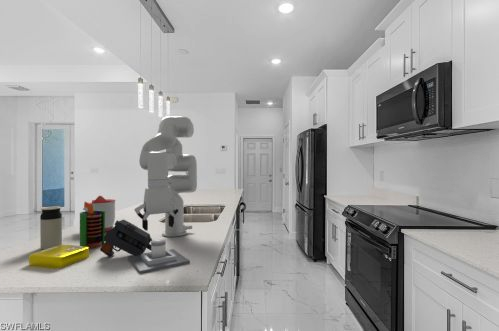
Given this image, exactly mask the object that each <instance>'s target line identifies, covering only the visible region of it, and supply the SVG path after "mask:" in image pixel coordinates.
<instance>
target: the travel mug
mask: <svg viewBox="0 0 499 331" xmlns="http://www.w3.org/2000/svg"><path fill="white" fill-rule="evenodd" d="M61 209H62V207H61V206H57V205H56V206H45V207H41V208H40V210H41V214H40V218H39V219H40V220H39V221H40V222H39V223H40V229H39V230H40V250H46V249H48V248H52V247H55V246H59V245H63V224H62V223H63V215H62V212H61Z"/></svg>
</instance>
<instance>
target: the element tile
mask: <svg viewBox="0 0 499 331" xmlns="http://www.w3.org/2000/svg"><path fill="white" fill-rule="evenodd" d="M89 257H90V249H89V247H86V246H80V245H74V244H73V245H71V244H62V245H59V246H55V247H52V248H48V249H46V250H45V249H41V250H40V251H36V252H33V253H30V254H29V256H28V266H29V267H37V268H45V269H52V268H53V270H54V269H55V270H56V269H57V268H58V269H61V268H62V269H63V268H65V267H67V266H69V265H73V264H76V263H78V262H80V261H83V260H85V259H88V258H89Z"/></svg>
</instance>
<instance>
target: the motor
mask: <svg viewBox="0 0 499 331" xmlns="http://www.w3.org/2000/svg"><path fill="white" fill-rule="evenodd" d="M87 202H88V201H87ZM83 206H84V207H87V208H88V211H85V210H84V211H81V212H80V213H79V246H86V247H89V250H91V249H93V250H94V249H98V248H101V247H102V246H103V244H104V243H105V241H104V236H105V235H106V232H105V211H100V210H95V211H93V205H92V201H91V202H90V201H89V202H88V203H84V204H83ZM84 207H83V208H84Z"/></svg>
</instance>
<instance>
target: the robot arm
mask: <svg viewBox="0 0 499 331" xmlns="http://www.w3.org/2000/svg"><path fill="white" fill-rule="evenodd" d="M194 129H195V128H194V123H193V122H192V120H191V119H190V118H189V117H188V116H165V117H163V118H162V119H161V120H160V123H159V124H158V130H157V134H156V135H155V136H153V137H151V138H149V139H148V140H147V141H146V142H145V143H144V144H143V145H142V148H141V150H140V154H139V160H138V161H139V166H140V167H141V169H142V170H145V171H147V187H145V189H144V194H143V203H142V204H140V205H139V206H137V207H135V208H134V213H135V214H136V215H137V217H139V218H140V219H141V220H142V221H141V222H142V225H141V226H142V229H143V231H145V232H147V231H148V230H149V229H148V228H149V226H148V225H149V220H148V218H149V216H150V215H160V214H164V225H165V226H164V231H162V232H161V235H162V236H163V237H166V238H167V237H168V238H172V237H173V238H175V237H181V236H185V235H187V230H191V229H193V225H186V224H185V223H184V222H185V221H184V216H185V215H184V214H185V212H184V200H183V198H182V196H181V195H180V194H182V193H184V194H185V193H188V194H189V193H190V194H192V193H195V192H196V191H197V189H198V188H197V187H198V168H197V167H198V166H197V163H198V162H197V159H196V157H195V155H193V154H183V144H182V143H181V141H180V140H179V139H178V138H191V137H193V135H194V132H195V130H194ZM164 150H165V151H164ZM169 172H170V173H186V174H169ZM141 210H143V214H142V212H141Z"/></svg>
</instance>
